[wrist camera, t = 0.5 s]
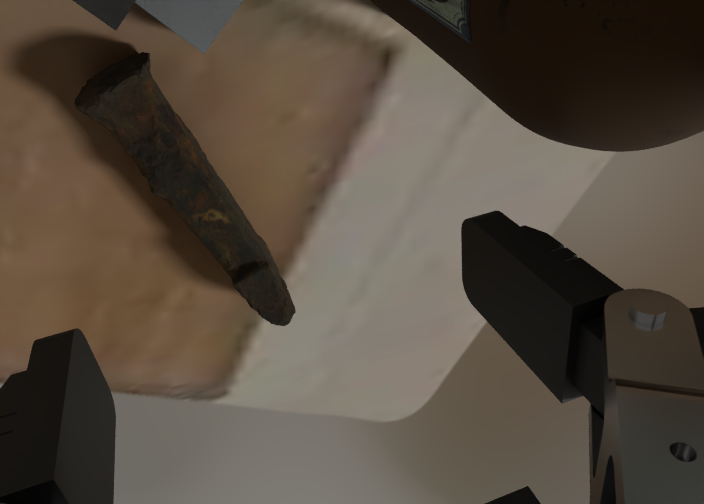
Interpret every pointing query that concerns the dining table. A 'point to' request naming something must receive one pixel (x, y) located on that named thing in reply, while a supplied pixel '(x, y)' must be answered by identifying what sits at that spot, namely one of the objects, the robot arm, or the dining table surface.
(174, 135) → the hand tool
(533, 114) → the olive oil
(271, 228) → the dining table surface
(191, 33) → the scraper
